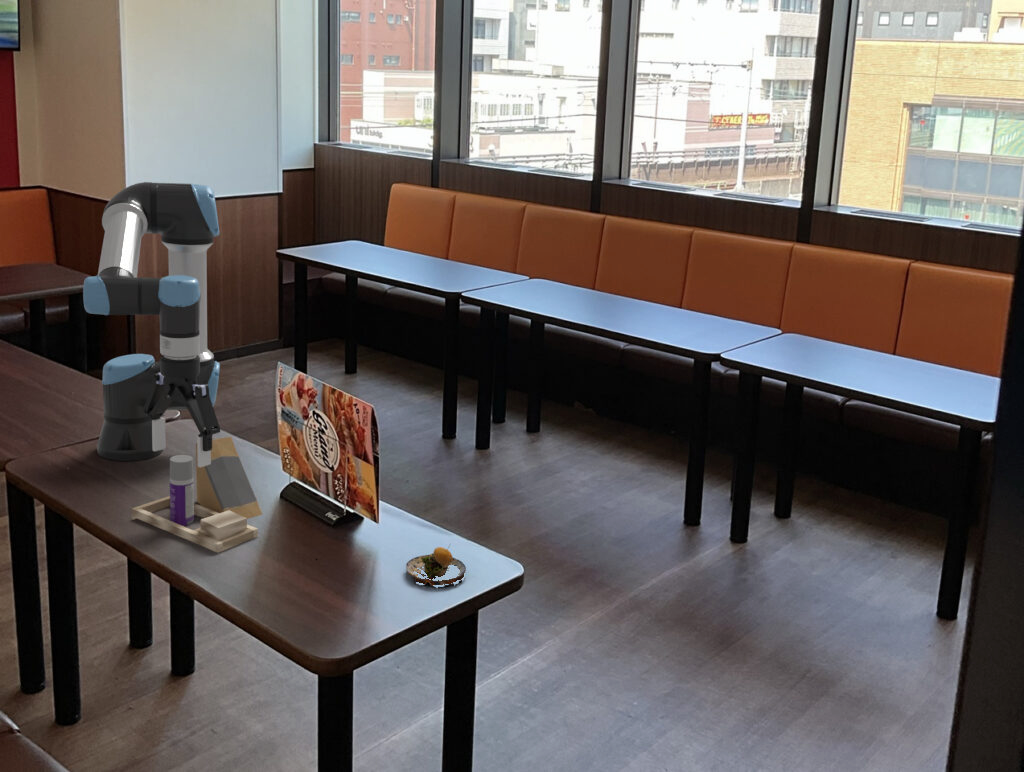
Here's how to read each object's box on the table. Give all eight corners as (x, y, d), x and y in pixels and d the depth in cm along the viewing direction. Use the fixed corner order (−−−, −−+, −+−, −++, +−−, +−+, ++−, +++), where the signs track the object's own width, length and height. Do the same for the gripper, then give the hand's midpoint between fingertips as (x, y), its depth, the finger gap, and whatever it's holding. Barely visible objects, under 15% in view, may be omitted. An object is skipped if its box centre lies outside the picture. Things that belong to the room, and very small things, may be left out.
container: (165, 528, 221) (164, 459, 217) (180, 520, 225) (179, 453, 221) (184, 533, 219) (183, 464, 215) (198, 525, 224) (198, 457, 219)
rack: (132, 521, 223) (131, 508, 222) (173, 507, 231) (172, 494, 230) (218, 558, 209) (217, 544, 208) (258, 542, 218) (258, 528, 217)
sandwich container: (231, 532, 222) (231, 463, 218) (195, 507, 232) (194, 442, 228) (268, 522, 228) (268, 456, 224) (231, 499, 238) (231, 435, 234)
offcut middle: (200, 538, 214) (200, 529, 213) (227, 528, 219) (227, 519, 219) (218, 547, 211) (218, 537, 210) (246, 536, 217) (246, 527, 216)
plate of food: (434, 557, 218) (436, 522, 216) (478, 576, 211) (481, 541, 209) (391, 574, 209) (393, 539, 207) (436, 595, 202) (438, 559, 200)
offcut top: (200, 529, 214) (200, 519, 213) (229, 519, 219) (229, 510, 218) (218, 537, 210) (218, 528, 210) (246, 527, 216) (246, 518, 215)
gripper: (123, 346, 216) (125, 447, 221) (208, 370, 202) (208, 477, 208) (154, 341, 222) (156, 439, 227) (238, 364, 209) (238, 467, 214)
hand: (181, 457), depth 218 cm, fingers open, 13 cm apart
